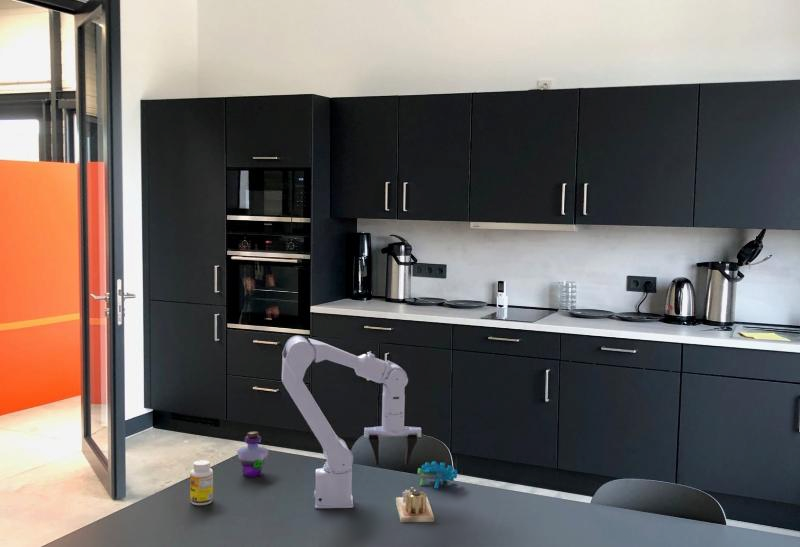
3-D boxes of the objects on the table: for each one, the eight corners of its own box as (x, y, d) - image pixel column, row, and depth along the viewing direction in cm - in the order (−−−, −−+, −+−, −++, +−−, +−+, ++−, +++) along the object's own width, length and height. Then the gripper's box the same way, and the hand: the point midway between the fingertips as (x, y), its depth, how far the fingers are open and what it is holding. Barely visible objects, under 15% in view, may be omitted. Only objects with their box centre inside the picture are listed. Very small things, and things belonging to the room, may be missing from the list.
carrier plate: (400, 522, 189) (401, 516, 188) (395, 501, 201) (395, 497, 201) (434, 521, 189) (434, 516, 189) (426, 501, 202) (426, 496, 202)
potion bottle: (253, 482, 213) (253, 438, 212) (230, 475, 218) (230, 433, 217) (274, 473, 221) (275, 431, 220) (252, 467, 225) (252, 426, 224)
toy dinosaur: (462, 477, 216) (451, 459, 210) (459, 497, 213) (447, 479, 206) (425, 476, 221) (413, 458, 214) (421, 496, 217) (408, 478, 210)
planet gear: (406, 514, 190) (407, 493, 190) (404, 506, 195) (405, 486, 194) (427, 514, 190) (427, 493, 190) (424, 506, 195) (425, 486, 195)
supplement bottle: (188, 499, 200) (188, 460, 199) (210, 496, 202) (211, 457, 201) (191, 507, 195) (191, 467, 194) (214, 504, 197) (214, 464, 196)
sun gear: (403, 504, 197) (404, 491, 196) (401, 497, 202) (402, 484, 201) (423, 504, 197) (424, 491, 197) (421, 497, 202) (421, 484, 202)
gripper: (365, 415, 197) (364, 469, 198) (423, 415, 198) (422, 468, 199) (364, 408, 204) (363, 460, 205) (419, 408, 205) (418, 459, 206)
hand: (392, 463), depth 203 cm, fingers open, 7 cm apart
